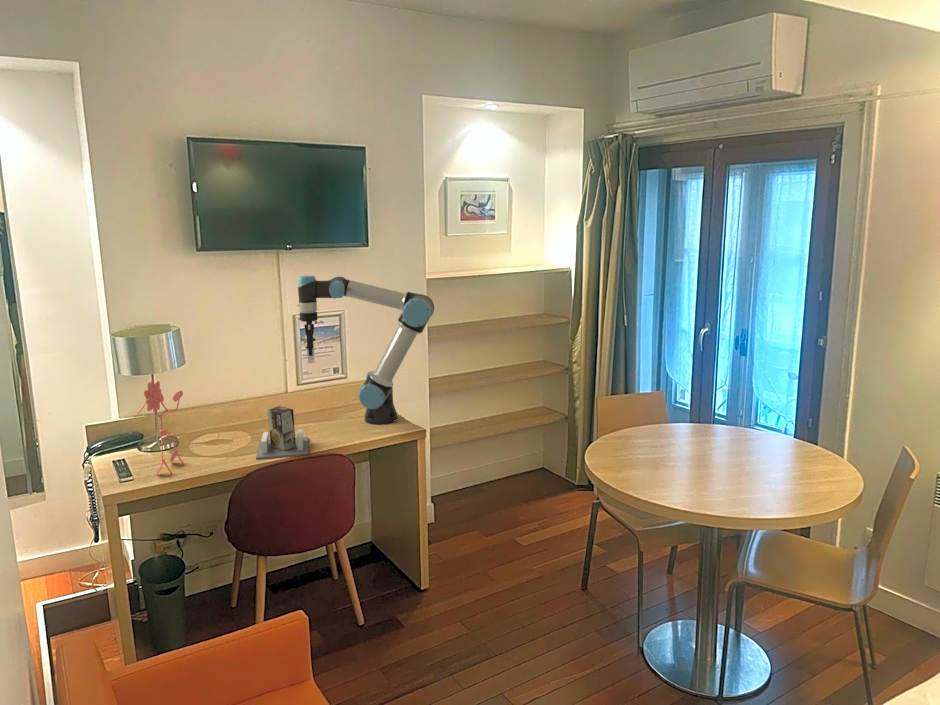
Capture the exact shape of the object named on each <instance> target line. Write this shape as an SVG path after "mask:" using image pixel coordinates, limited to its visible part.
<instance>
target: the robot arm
mask: <svg viewBox="0 0 940 705" xmlns="http://www.w3.org/2000/svg"><path fill="white" fill-rule="evenodd" d="M297 293H298V294H297V295H298V304H297V307H298V308H299V309H298V310H299V321H301V322H303V323H304V322H305V324H304V332H305V336H306V346H305V350H306V349H307V350H306V351H307V352H306V353H307V364H314V363H315V345H314V344H315V343H314V342H315V341H316V339H315V338H314V333H315V324H314V323H313V322H316V321H318V318H319V317H318V312H317V311H318V301H317V300H318V299H334V300H335V299H341V298H343V297H347V298H350V299H356V300H360V301H364V302H368V303H372V304H376V305H381V306H383V307H384V306H385V307H388V308H393V309H397V310H400V311H401V313H400V315H399V317H398V320H397V321H398V327H397V329H396V330H395V333H394V334H393V336H392V338H391V340H390V341H389V343H388V345H387V347H386V349H385V351H384V353H383V355H382V356H381V358H380V360H379V363H378V364H377V366H376V368H375V370H371V371H368V372H367V373H366V377H365V378H366V379H365V381H364V383H363V385H362V386H360V388H359V391H358V401H359V402H360V404H361V405H362V406H363V407H365V408H366V410H365V413H364V422H365V423H368V424H371V425H385V424H384V423H387V424H390V423H389V422H391V423H393V422H392V421H394V420H396V419H397V420H398V411H397V409H396V407H395V405H394V394H393V393H394V390H393V389H394V388H393V387H394V382H393V379H394V377H395V375H396V373H397V372H398V370H399V368H400V367H401V365H402V362H403V361H404V358H406V356H407V354H408V351H409V350H410V348H411V346H412V344H413V342H414V340H415V339H416V337H417V336H418V335H420V334H422V333H423V331H424V329H425V328H426V326H427V324H428V322H429V321H430V319H431V317H432V316H433V315H434V311H435V304H434V301H433V300H432V298H430V297H429V296H428V295H426V294H421V293H416V292H411V291H406V292H401V291H397V290H393V289H388V288H385V287H379V286H375V285H372V284H368V283H365V282H364V283H363V282H359V281H354V280H351V279H346V277H344V276H335V277H333V278H331V279H328V280H317V278H316V277H315V275H301V276H298V277H297ZM397 420H396V421H397ZM394 422H395V421H394Z"/></svg>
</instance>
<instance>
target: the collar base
mask: <svg viewBox="0 0 940 705" xmlns="http://www.w3.org/2000/svg"><path fill="white" fill-rule="evenodd" d="M303 430H304V429H300V428H299V429H297V433H296V434H297V435H296V437H295V441H296V447H293V448H290V449H287V450H281V449H277V448H274V447H271V441H270V435H269V432H268V431H263V433H262V436H261V440H259V444H258V446H257V453H256V456H255V460H266V459H278V458H289V457H299V456H300V457H301V456H308V455H309V436H304V431H303Z"/></svg>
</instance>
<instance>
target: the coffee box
mask: <svg viewBox="0 0 940 705" xmlns="http://www.w3.org/2000/svg"><path fill="white" fill-rule="evenodd" d="M267 418H268V429H269V440H270V441H271V447H274V448H277V449H281V450H287V449H290V448H293V447H296V441H295V438H296V431H295V414H294V409H293V408H289V407H285V406H281V405H279V406H275V407H272V408H269V409H267Z"/></svg>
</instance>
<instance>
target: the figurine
mask: <svg viewBox="0 0 940 705" xmlns="http://www.w3.org/2000/svg"><path fill="white" fill-rule="evenodd" d="M143 395H144V398H145V402H144V403H143V404H142V406H141V407H140V408H139V410H138V411H137V412H136V414H135V415H134V418H136V417H137V416H138V415H139V414H140V413H141V412H142V410H143V409H144V408H145V406H147V408H146V410H147V411H148V412H151V411H153V414H156V415H157V417H158V418H159V420H160V430H159V432H158V434H159V435H160V440H161V462H160V464H159V466H158V469H157V470H156V472H155V473H156V474H157V475H158V474H159V473H160V470H161V469H162V467H163V465H165V466H166V468H167V470H168V471H169V473H170V474H171V473H172V474H173V471H172V470H171V469H170V467H169V466H168V464H167V463H166V461H165V459H166V458H165V457H164V446H163V445H164V444H163V442H164V441H163V437H165V436H167V434H169V435H173V440H174V441H173V443H174V451H173V453H172V455H170V458H169V461H170V462H171V463H173V461H174V460H175V459H176V458H178V459H179V461H180V462H181V464H182V465H185V463H184V461H183V460H182V457H181V456H180V455H179V449H176V433H172V432H168V431H167V430H166V429H165V428H163V418H162V417H163V416H164V415H165V414H166V413H168V412H175V411H178V410H179V409H178V408H179V405H180V400H181V398H182V397H183V395H184V392H183V390H179V391H177V392H176V393H175V394H174V395H173V396H172V400H173V401H174V403H176V402H177V403H176V408H175V409H173V408H172V409H168V408H167V407H166V406H165V404H164V400H165V398H164V395H163V393H162V388H161V382H160V381H159V380H157V381H155V380H153V379H151V380H150V382H147V390H144V391H143ZM161 405H162V406H163V408H164V410H163V412H161V414H159V412H158V411H159V410H160V409H161Z"/></svg>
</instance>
